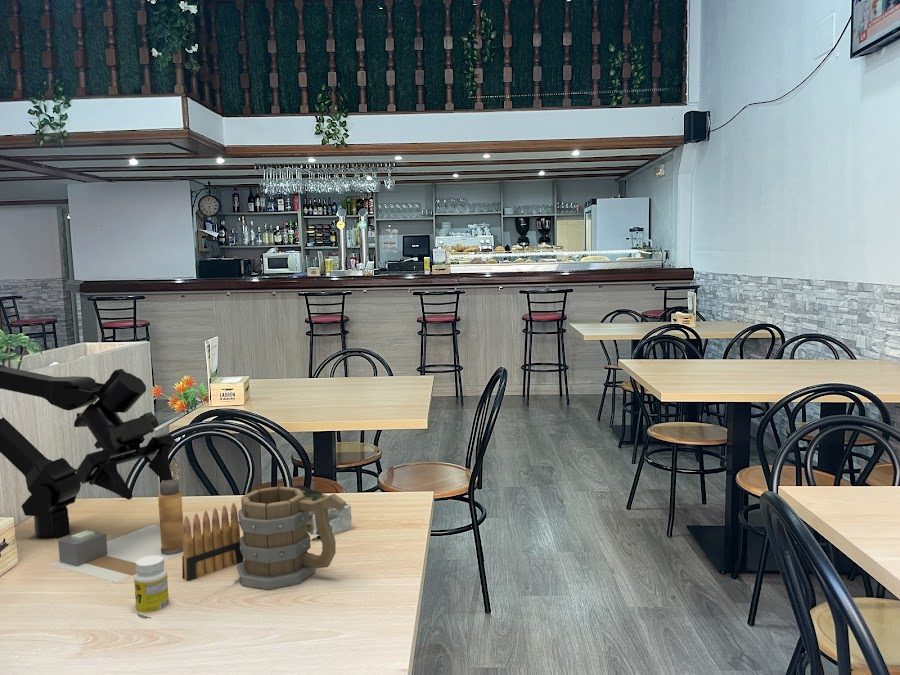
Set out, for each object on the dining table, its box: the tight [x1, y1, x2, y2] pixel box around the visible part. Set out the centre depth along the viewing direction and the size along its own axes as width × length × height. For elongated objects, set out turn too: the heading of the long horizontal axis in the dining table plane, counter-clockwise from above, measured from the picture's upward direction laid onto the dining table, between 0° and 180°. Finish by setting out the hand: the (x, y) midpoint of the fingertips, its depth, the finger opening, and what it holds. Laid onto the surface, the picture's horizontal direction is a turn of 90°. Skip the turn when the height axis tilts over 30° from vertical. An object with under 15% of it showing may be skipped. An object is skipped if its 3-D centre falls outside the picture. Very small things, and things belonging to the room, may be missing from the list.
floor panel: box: [49, 524, 193, 583], centre depth 134 cm, size 18×22×1 cm
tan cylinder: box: [157, 479, 184, 555], centre depth 133 cm, size 4×4×13 cm
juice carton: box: [290, 485, 353, 541], centre depth 150 cm, size 20×10×6 cm, turn 44°
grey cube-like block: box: [57, 529, 108, 567], centre depth 131 cm, size 5×6×5 cm
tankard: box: [236, 486, 347, 591], centre depth 124 cm, size 20×13×15 cm, turn 69°
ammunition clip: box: [181, 502, 244, 582], centre depth 124 cm, size 11×2×12 cm, turn 137°
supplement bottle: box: [133, 555, 170, 620], centre depth 112 cm, size 5×5×8 cm
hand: (151, 491), depth 135 cm, fingers open, 9 cm apart
